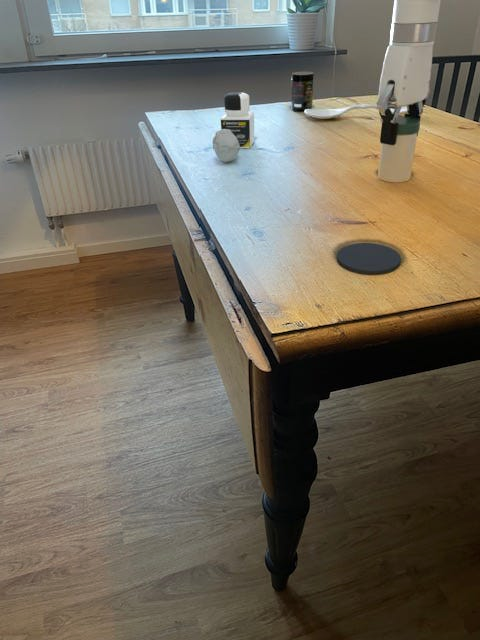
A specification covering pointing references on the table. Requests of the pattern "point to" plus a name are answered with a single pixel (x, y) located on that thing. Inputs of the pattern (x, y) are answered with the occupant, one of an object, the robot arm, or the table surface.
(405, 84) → the robot arm
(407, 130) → the jar lid
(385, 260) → the coaster
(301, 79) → the supplement container
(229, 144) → the grey rock
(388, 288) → the table surface
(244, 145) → the medicine bottle
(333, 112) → the spoon
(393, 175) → the jar
